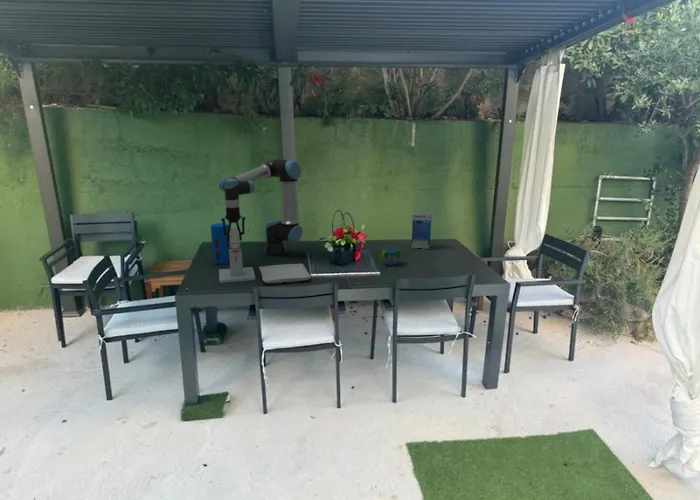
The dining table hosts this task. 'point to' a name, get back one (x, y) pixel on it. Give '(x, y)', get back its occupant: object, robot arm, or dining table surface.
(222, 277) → the stand
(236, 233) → the column
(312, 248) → the dining table surface
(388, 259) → the snack cup
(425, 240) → the string lights box
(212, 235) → the thermos
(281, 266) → the square plate
